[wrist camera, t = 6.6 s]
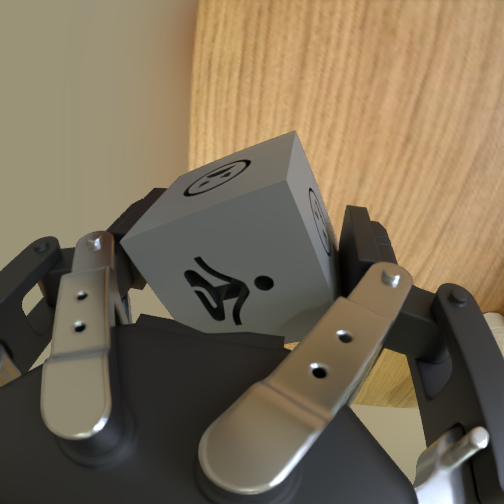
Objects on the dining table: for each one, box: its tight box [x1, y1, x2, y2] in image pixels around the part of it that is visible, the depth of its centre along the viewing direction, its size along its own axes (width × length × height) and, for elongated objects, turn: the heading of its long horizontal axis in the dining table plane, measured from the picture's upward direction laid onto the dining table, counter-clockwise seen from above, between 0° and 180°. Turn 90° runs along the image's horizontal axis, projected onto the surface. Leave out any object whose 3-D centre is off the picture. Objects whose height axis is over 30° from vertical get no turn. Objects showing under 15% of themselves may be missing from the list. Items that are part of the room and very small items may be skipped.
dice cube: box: [120, 130, 342, 344], centre depth 11 cm, size 5×5×5 cm
